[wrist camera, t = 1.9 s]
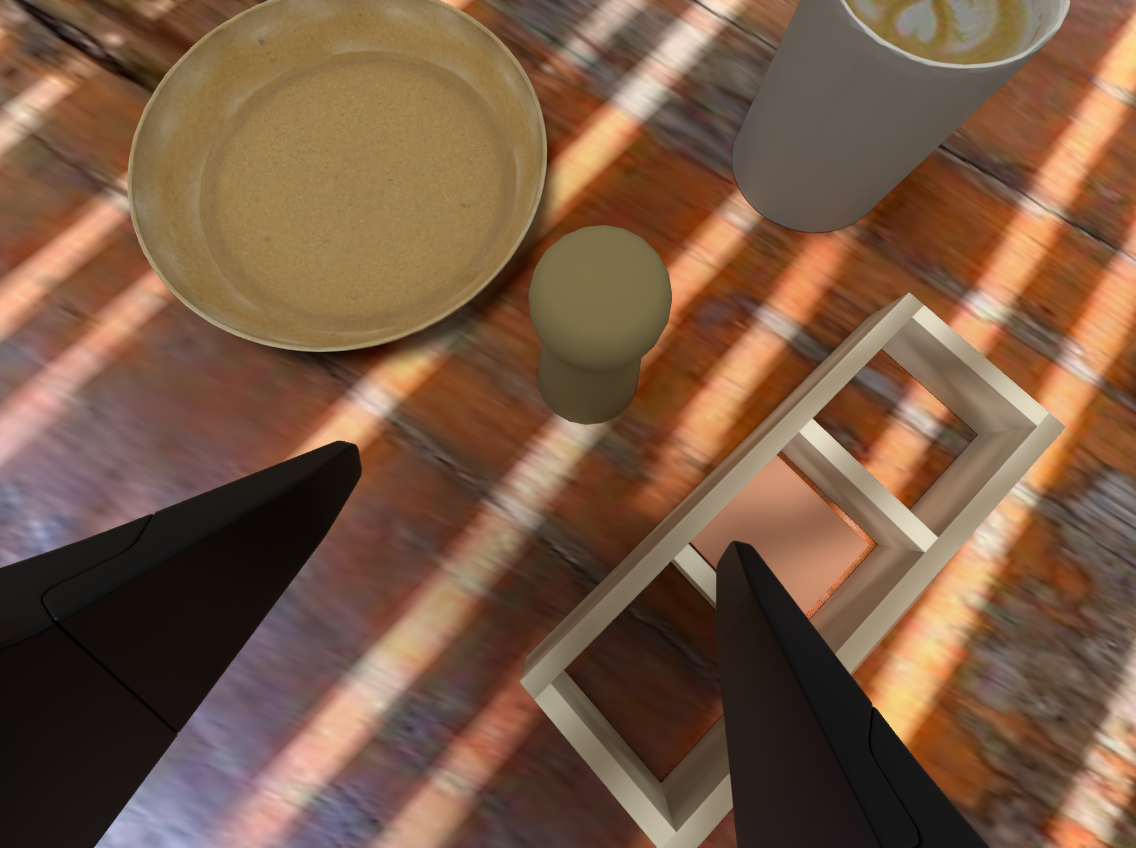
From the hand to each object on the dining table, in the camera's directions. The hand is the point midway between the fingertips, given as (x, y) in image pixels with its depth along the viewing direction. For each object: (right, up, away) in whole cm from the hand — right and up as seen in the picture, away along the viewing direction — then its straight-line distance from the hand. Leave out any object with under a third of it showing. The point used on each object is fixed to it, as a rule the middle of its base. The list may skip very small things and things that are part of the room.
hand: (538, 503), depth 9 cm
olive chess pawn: (+2, +5, +15) cm, 16 cm away
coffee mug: (+18, +19, +17) cm, 32 cm away
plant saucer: (-13, +17, +17) cm, 27 cm away
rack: (+12, -5, +13) cm, 18 cm away
